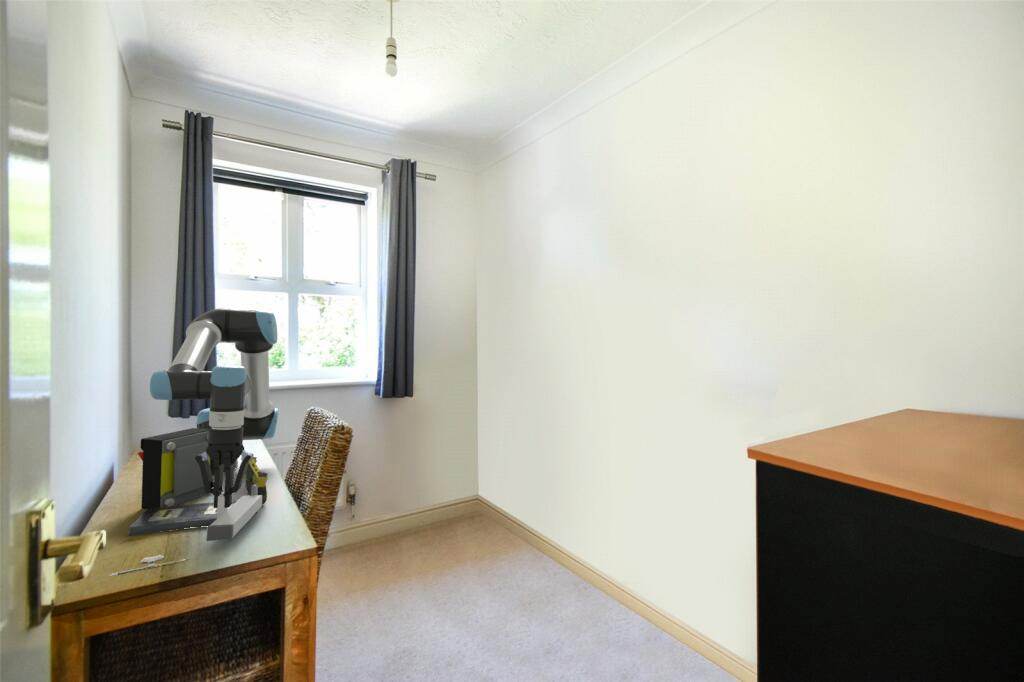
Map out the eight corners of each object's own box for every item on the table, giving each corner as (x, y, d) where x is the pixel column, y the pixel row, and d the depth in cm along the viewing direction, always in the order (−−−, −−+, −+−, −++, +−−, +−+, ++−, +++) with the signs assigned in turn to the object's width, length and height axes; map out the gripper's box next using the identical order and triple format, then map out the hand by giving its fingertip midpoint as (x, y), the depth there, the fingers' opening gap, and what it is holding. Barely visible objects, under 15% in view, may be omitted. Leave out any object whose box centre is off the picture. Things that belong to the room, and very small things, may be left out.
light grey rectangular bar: (242, 507, 131) (242, 495, 131) (262, 506, 132) (262, 494, 132) (206, 540, 109) (207, 527, 109) (231, 539, 110) (231, 525, 110)
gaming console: (241, 486, 156) (242, 456, 156) (255, 484, 159) (256, 455, 159) (251, 510, 136) (252, 475, 136) (268, 507, 138) (269, 473, 138)
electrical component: (165, 511, 132) (167, 440, 132) (135, 508, 134) (137, 438, 134) (216, 492, 149) (218, 429, 150) (189, 489, 152) (191, 427, 152)
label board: (148, 515, 129) (149, 486, 129) (260, 505, 139) (260, 478, 139) (128, 535, 116) (129, 502, 116) (253, 522, 126) (254, 492, 126)
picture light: (108, 578, 96) (108, 568, 97) (111, 570, 100) (111, 560, 100) (190, 561, 105) (191, 552, 105) (190, 554, 108) (190, 545, 108)
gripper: (190, 429, 114) (186, 527, 114) (248, 429, 116) (244, 525, 116) (204, 424, 121) (200, 515, 121) (258, 424, 124) (254, 514, 123)
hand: (222, 520), depth 118 cm, fingers closed
